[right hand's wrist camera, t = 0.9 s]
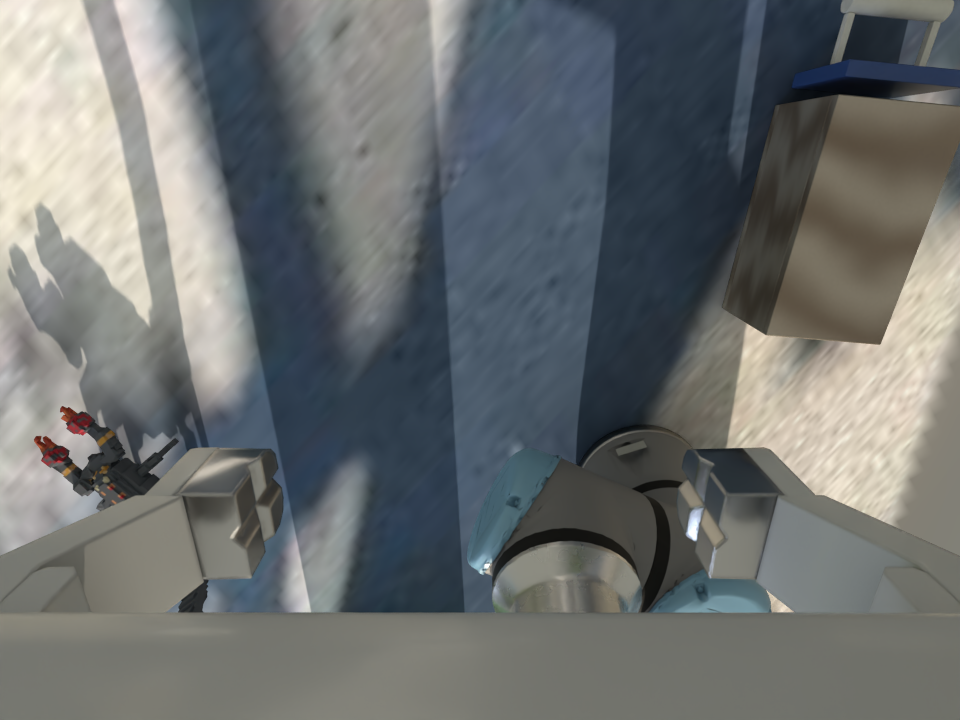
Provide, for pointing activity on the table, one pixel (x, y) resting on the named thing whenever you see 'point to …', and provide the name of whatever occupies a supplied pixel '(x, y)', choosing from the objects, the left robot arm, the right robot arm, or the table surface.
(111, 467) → the toy
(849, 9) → the drawer
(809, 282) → the cabinet
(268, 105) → the table surface
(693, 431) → the table surface
